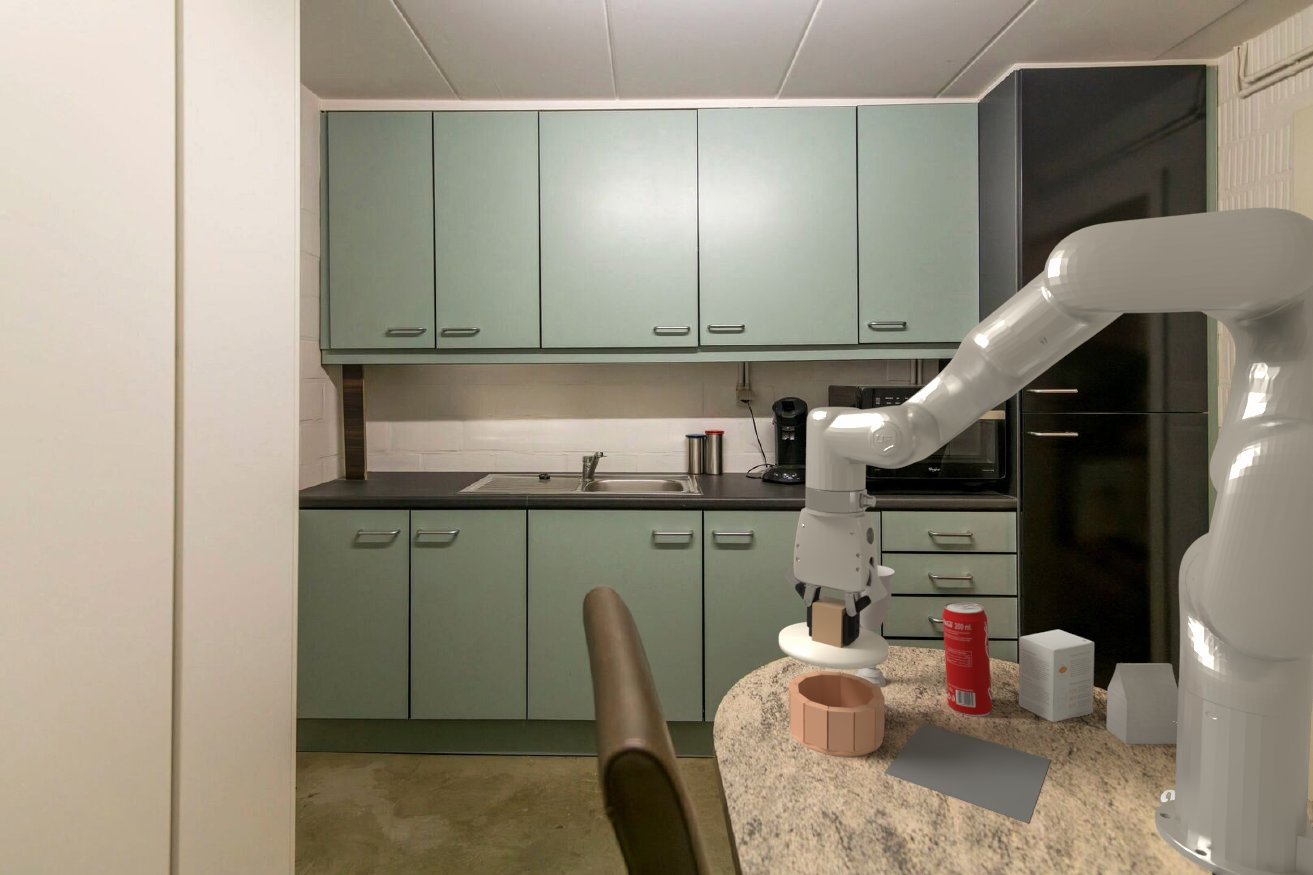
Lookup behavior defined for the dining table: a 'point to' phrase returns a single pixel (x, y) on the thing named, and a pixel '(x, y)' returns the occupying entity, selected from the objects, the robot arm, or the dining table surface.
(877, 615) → the chalice
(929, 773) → the mat
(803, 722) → the bowl
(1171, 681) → the white gabled block
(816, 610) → the lid
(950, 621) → the beverage can
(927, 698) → the dining table surface
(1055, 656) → the small box
